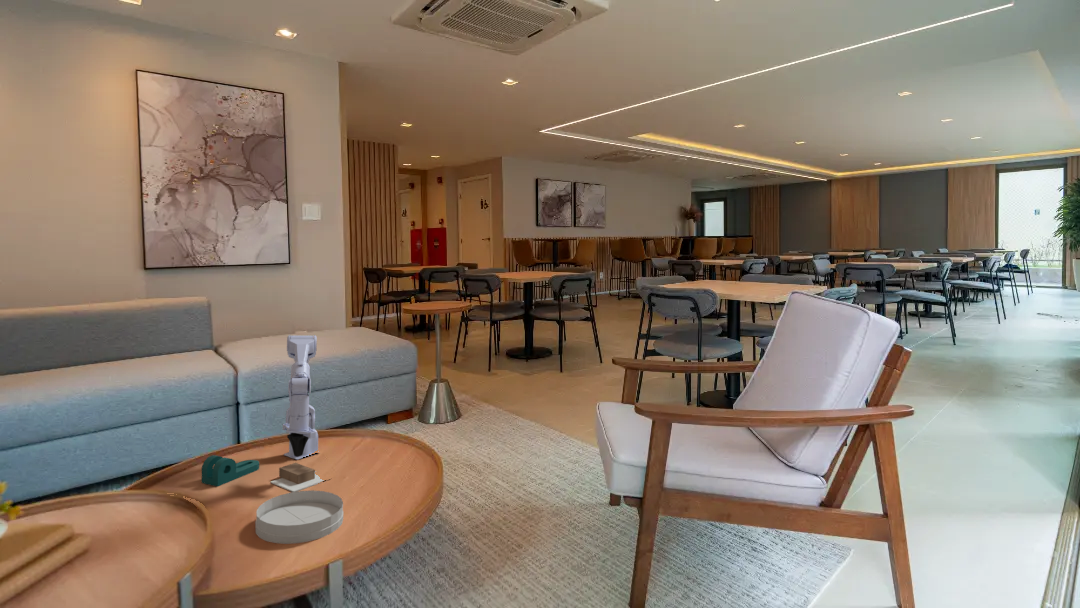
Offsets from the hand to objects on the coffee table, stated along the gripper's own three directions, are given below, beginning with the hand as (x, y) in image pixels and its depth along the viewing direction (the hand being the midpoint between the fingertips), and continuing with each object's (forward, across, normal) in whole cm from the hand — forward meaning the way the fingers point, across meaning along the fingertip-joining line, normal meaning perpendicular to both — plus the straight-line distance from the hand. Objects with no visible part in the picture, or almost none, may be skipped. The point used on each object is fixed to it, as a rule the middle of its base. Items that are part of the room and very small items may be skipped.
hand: (298, 455), depth 182 cm
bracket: (+8, -19, -10) cm, 23 cm away
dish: (+8, +27, -18) cm, 34 cm away
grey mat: (+8, +2, 0) cm, 8 cm away
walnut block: (+6, -6, 0) cm, 8 cm away
